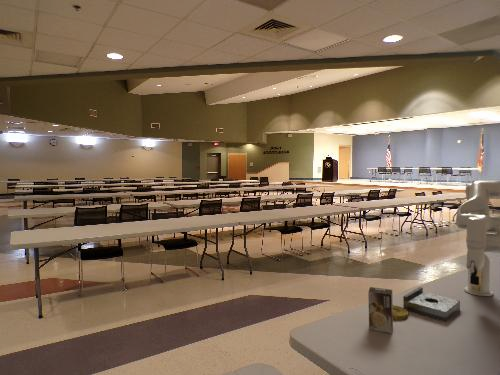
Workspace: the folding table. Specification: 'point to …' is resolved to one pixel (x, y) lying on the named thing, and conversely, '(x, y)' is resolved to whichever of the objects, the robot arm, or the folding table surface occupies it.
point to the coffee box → (380, 309)
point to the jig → (430, 305)
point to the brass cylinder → (478, 287)
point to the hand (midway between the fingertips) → (476, 282)
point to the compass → (399, 313)
